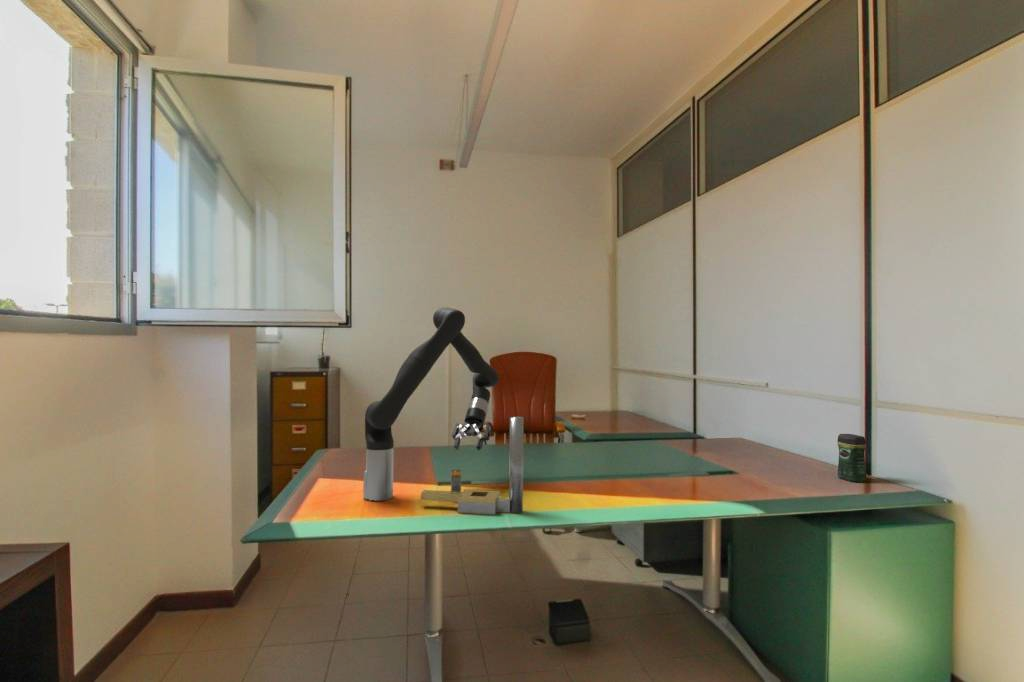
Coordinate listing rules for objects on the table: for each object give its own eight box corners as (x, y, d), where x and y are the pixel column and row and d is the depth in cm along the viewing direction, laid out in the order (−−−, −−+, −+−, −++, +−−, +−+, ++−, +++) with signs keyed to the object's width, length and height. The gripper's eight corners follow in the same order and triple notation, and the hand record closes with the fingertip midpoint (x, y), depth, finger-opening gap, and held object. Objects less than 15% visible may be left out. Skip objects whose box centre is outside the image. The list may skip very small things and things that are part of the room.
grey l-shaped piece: (418, 510, 162) (419, 416, 162) (426, 502, 171) (427, 413, 171) (520, 516, 157) (521, 419, 158) (524, 507, 166) (525, 416, 167)
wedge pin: (449, 501, 172) (449, 471, 173) (452, 498, 176) (452, 469, 176) (459, 501, 172) (459, 472, 172) (462, 498, 175) (462, 469, 176)
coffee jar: (870, 482, 203) (870, 435, 203) (854, 483, 201) (854, 436, 201) (849, 476, 212) (849, 432, 213) (833, 477, 210) (833, 432, 211)
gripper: (456, 406, 195) (445, 443, 184) (491, 406, 190) (482, 443, 180) (462, 417, 200) (452, 453, 189) (496, 418, 196) (488, 454, 185)
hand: (467, 448), depth 184 cm, fingers open, 8 cm apart
